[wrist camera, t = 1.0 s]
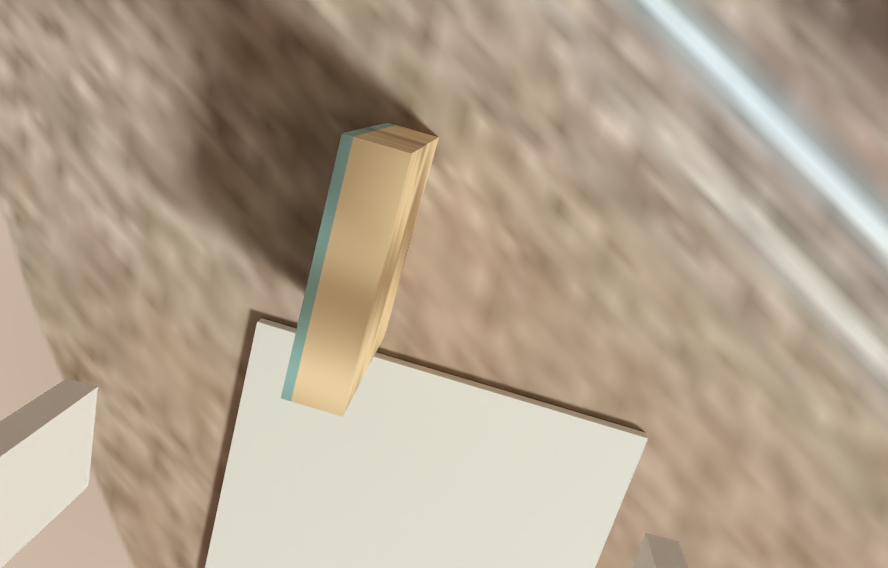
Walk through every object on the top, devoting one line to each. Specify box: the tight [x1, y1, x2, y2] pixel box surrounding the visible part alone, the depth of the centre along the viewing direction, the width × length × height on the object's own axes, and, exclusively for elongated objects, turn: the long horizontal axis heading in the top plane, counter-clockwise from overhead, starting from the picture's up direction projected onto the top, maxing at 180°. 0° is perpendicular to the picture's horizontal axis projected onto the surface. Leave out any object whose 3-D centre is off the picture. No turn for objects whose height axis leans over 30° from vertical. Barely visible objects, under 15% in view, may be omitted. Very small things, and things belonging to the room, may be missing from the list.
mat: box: [205, 318, 648, 568], centre depth 36 cm, size 16×20×1 cm
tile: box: [281, 123, 439, 417], centre depth 28 cm, size 10×2×9 cm, turn 164°
